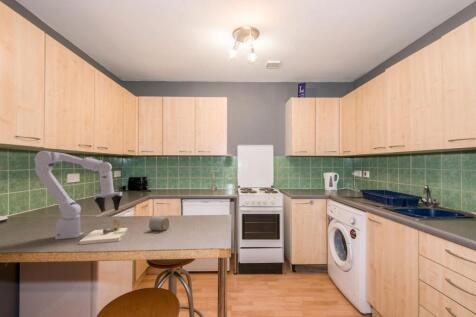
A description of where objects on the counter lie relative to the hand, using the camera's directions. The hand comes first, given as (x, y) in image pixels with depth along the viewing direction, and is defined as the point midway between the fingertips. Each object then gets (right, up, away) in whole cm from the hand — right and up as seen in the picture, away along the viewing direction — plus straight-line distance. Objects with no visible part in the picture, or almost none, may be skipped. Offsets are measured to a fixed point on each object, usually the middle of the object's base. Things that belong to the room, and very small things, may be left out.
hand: (109, 210), depth 123 cm
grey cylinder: (+25, -11, +4) cm, 28 cm away
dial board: (+2, -11, -8) cm, 14 cm away
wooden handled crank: (+3, -9, -4) cm, 11 cm away
